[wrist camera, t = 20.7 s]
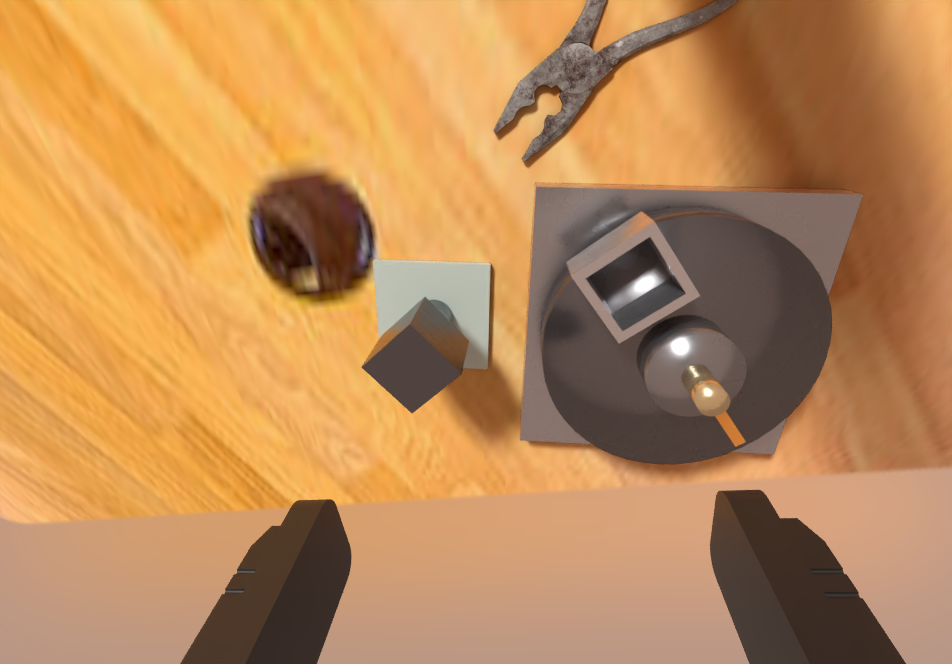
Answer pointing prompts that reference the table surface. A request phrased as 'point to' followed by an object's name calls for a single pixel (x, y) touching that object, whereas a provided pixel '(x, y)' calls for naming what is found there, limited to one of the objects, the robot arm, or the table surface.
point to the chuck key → (418, 354)
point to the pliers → (590, 65)
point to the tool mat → (438, 297)
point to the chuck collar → (683, 335)
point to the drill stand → (606, 205)
